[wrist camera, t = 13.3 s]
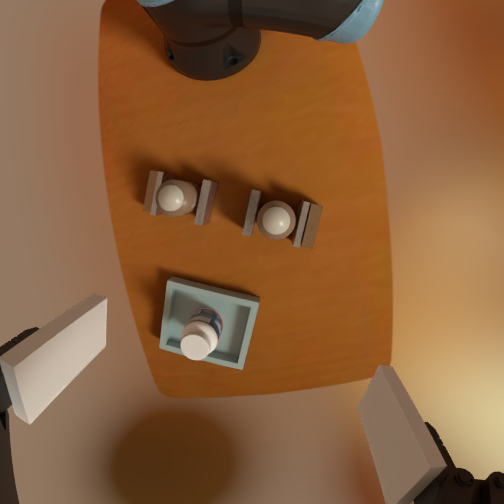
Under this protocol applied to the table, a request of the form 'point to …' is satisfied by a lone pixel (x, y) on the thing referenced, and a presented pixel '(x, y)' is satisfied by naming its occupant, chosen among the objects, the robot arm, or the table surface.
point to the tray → (221, 300)
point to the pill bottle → (201, 333)
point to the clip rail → (304, 220)
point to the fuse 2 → (276, 220)
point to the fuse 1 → (177, 197)
